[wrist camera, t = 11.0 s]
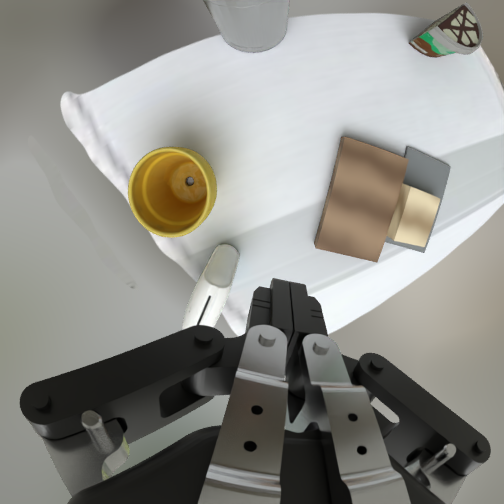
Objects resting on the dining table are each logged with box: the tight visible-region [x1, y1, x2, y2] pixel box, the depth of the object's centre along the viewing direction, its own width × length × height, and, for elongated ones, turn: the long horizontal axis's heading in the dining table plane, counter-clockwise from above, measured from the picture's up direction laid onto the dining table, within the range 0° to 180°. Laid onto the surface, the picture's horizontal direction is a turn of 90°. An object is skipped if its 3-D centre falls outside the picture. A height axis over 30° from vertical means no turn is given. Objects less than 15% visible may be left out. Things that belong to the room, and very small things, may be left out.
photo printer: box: [183, 244, 240, 330], centre depth 37 cm, size 10×4×12 cm, turn 156°
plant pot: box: [128, 147, 217, 237], centre depth 33 cm, size 10×10×10 cm
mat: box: [385, 147, 450, 253], centre depth 35 cm, size 15×9×1 cm, turn 169°
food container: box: [409, 3, 483, 58], centre depth 20 cm, size 12×6×10 cm, turn 138°
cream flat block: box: [387, 183, 440, 247], centre depth 34 cm, size 8×7×2 cm
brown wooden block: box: [314, 137, 409, 262], centre depth 35 cm, size 16×10×2 cm, turn 169°
